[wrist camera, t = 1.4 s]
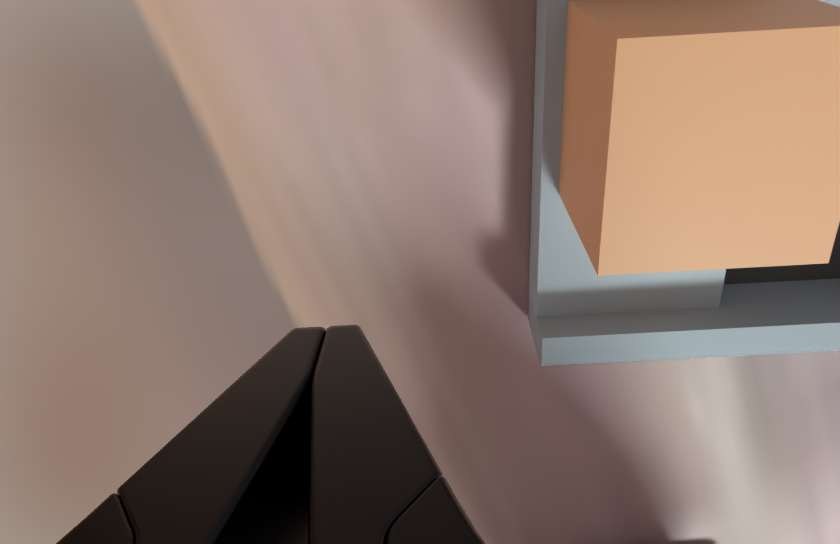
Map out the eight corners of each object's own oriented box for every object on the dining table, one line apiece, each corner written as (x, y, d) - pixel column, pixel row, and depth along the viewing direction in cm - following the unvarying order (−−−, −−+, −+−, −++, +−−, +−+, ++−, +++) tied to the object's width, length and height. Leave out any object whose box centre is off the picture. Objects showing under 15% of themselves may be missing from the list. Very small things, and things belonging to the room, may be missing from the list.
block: (742, 184, 19) (828, 263, 15) (558, 194, 19) (598, 275, 15) (778, -12, 17) (892, 22, 13) (568, 1, 17) (616, 38, 13)
